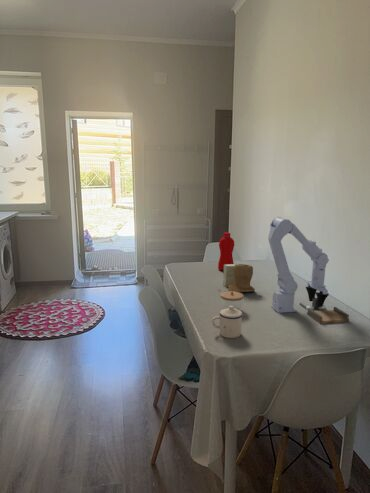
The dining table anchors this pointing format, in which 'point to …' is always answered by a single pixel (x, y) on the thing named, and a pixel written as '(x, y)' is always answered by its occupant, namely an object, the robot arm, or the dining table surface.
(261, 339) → the dining table surface
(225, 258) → the red bottle
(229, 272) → the skincare box
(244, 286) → the brown boot
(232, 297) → the lidded jar
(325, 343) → the dining table surface
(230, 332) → the teacup with lid
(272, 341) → the dining table surface
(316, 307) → the spectacles
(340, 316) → the stand
